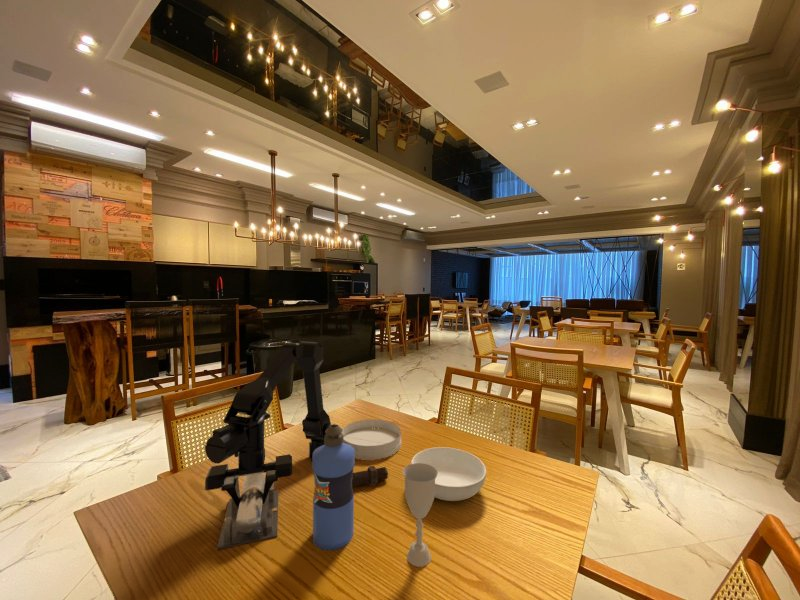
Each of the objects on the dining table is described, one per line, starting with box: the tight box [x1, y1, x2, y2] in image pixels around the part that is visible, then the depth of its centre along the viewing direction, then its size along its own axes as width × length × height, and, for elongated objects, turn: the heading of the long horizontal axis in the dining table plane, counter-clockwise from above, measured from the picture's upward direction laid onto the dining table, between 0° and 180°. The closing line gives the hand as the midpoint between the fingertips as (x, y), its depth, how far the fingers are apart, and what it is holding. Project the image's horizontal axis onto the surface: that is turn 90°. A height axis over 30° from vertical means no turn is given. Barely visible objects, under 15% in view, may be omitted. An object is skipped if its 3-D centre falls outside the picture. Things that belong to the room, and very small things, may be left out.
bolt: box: [352, 465, 389, 487], centre depth 92 cm, size 6×5×15 cm
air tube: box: [236, 473, 265, 533], centre depth 78 cm, size 5×16×5 cm, turn 20°
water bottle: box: [311, 423, 356, 551], centre depth 73 cm, size 9×9×25 cm
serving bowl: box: [410, 446, 487, 502], centre depth 91 cm, size 21×21×7 cm
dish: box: [341, 419, 402, 461], centre depth 116 cm, size 22×22×5 cm
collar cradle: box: [216, 482, 279, 551], centre depth 78 cm, size 12×17×4 cm
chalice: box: [402, 463, 438, 568], centre depth 67 cm, size 7×7×18 cm
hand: (251, 505), depth 78 cm, fingers closed on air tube, 5 cm apart
